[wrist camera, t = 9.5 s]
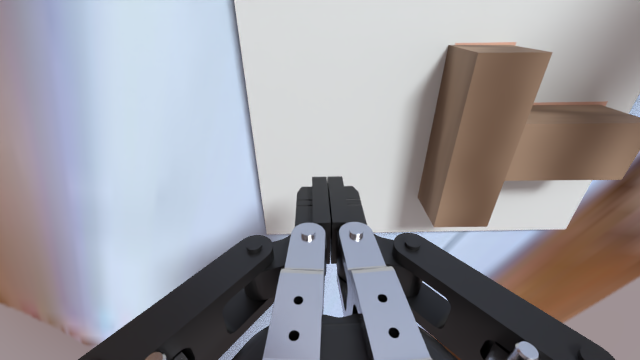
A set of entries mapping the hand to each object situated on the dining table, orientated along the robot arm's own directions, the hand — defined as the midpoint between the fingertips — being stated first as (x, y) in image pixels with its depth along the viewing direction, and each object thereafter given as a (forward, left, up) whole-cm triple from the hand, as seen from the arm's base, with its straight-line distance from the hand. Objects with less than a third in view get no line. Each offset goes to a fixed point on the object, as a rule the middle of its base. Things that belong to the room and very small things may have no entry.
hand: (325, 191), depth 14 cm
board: (+9, 0, -10) cm, 13 cm away
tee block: (+14, 0, -8) cm, 17 cm away
